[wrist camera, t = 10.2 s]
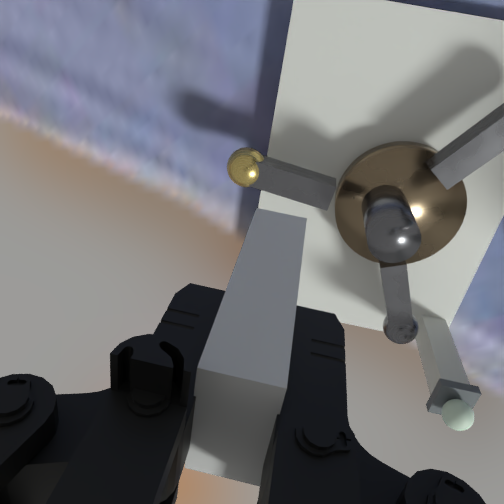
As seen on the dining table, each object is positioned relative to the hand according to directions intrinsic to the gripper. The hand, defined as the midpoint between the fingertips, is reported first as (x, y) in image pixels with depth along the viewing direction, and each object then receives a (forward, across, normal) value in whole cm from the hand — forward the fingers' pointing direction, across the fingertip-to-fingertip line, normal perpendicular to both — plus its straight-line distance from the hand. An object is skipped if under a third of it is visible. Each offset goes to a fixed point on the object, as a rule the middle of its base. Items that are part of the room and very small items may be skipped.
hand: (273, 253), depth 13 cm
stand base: (+18, +6, -4) cm, 20 cm away
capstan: (+17, +4, -3) cm, 17 cm away
